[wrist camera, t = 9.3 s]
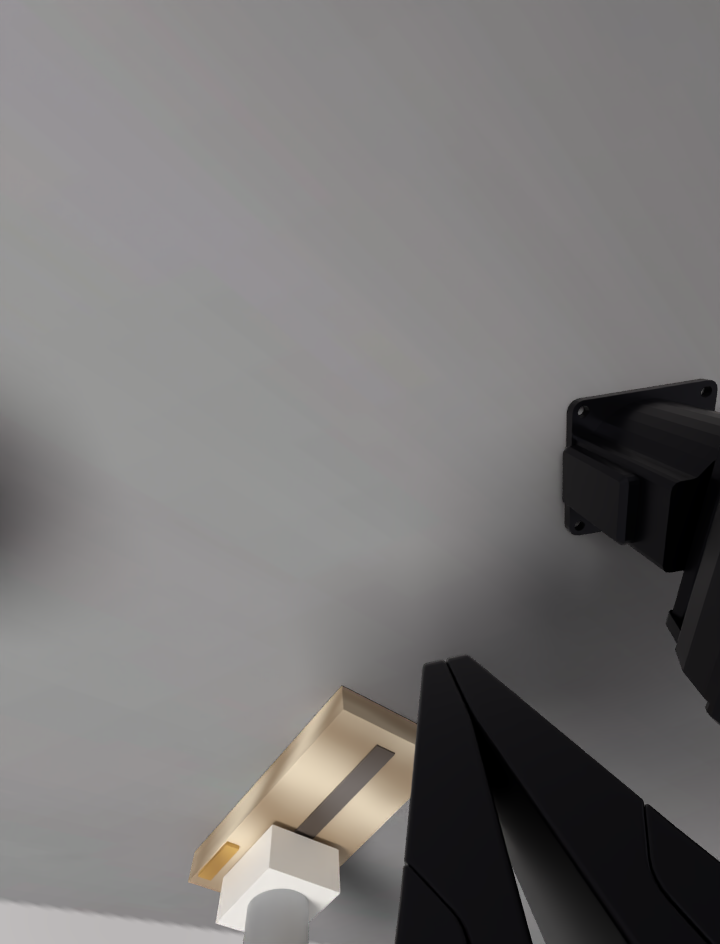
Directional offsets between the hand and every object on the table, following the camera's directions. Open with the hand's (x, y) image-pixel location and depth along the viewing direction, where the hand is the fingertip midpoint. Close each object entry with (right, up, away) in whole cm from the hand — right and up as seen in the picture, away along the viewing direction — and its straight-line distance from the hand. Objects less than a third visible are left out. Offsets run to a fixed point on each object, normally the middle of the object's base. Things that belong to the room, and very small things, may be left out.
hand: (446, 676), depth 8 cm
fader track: (-4, -15, +18) cm, 24 cm away
